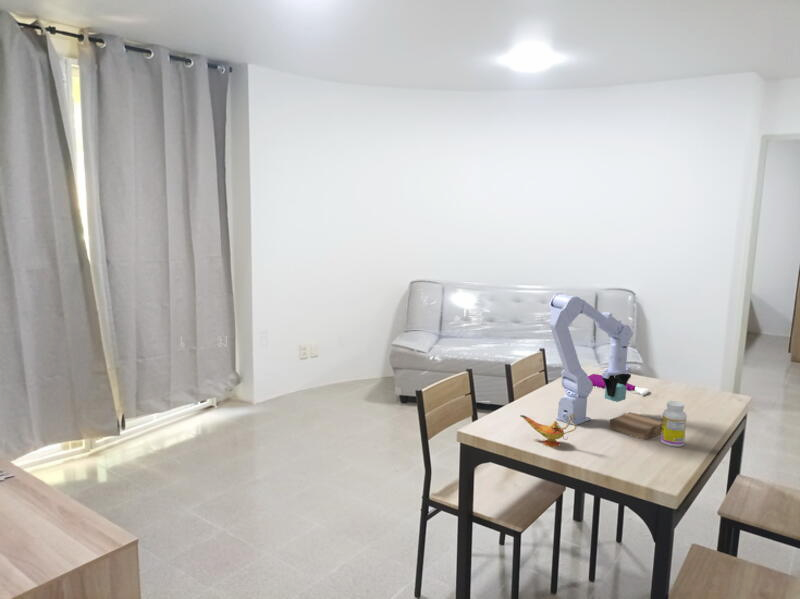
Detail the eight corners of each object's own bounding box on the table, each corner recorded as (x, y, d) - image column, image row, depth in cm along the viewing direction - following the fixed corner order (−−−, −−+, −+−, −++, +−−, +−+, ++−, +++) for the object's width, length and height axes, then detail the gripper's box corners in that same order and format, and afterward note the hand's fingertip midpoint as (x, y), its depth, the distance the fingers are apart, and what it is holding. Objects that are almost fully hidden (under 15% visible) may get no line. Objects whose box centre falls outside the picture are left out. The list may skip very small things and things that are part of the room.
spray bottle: (593, 379, 244) (652, 393, 228) (582, 384, 236) (641, 399, 220) (594, 372, 244) (652, 386, 227) (582, 377, 236) (642, 391, 219)
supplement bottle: (663, 437, 180) (667, 398, 179) (686, 442, 176) (690, 403, 174) (657, 443, 175) (661, 403, 173) (681, 449, 171) (684, 408, 169)
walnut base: (643, 439, 178) (644, 430, 178) (609, 428, 187) (609, 419, 187) (663, 431, 185) (664, 422, 185) (629, 420, 195) (629, 412, 194)
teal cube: (617, 402, 197) (618, 388, 196) (604, 398, 201) (605, 384, 200) (625, 399, 200) (626, 385, 199) (612, 395, 204) (613, 382, 203)
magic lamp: (523, 432, 183) (524, 399, 182) (578, 445, 173) (580, 410, 172) (514, 438, 178) (515, 405, 176) (571, 453, 168) (573, 417, 166)
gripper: (616, 362, 191) (613, 401, 193) (639, 356, 200) (636, 393, 202) (598, 358, 196) (595, 396, 198) (621, 352, 205) (618, 388, 207)
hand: (615, 394), depth 200 cm, fingers closed on teal cube, 5 cm apart
